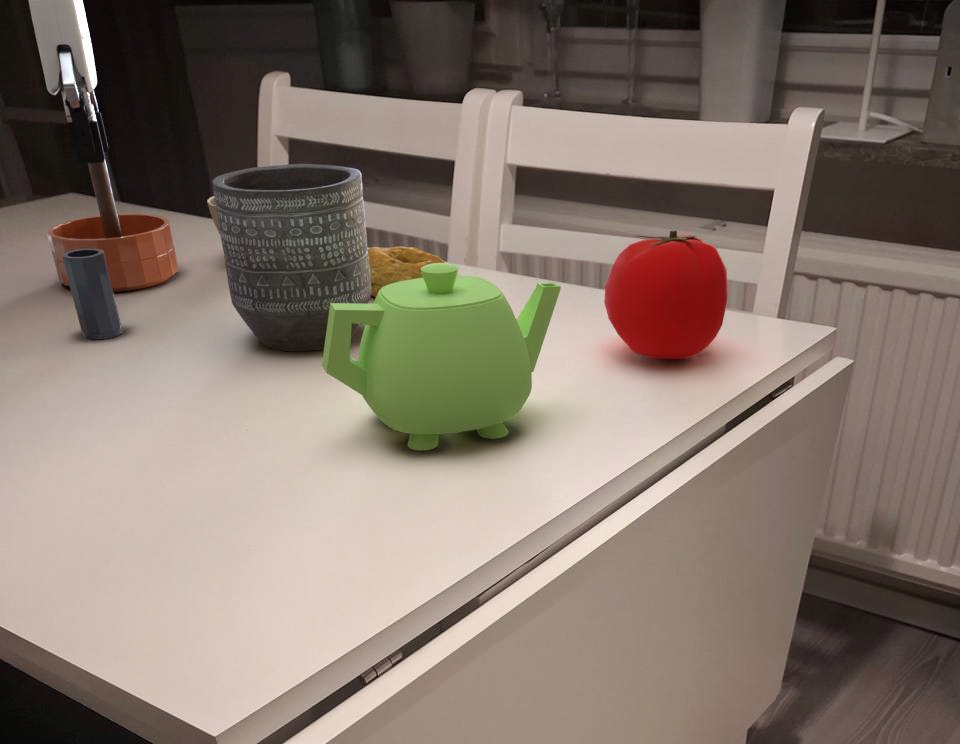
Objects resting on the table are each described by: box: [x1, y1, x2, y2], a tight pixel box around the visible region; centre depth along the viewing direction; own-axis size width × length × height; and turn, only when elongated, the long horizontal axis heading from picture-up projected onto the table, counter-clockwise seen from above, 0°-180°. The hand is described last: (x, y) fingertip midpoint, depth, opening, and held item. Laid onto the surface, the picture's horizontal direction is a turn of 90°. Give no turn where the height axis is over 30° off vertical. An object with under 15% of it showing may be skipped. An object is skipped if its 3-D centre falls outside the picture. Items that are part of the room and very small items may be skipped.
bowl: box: [46, 213, 179, 293], centre depth 123 cm, size 14×14×6 cm
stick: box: [85, 104, 122, 238], centre depth 119 cm, size 2×2×18 cm
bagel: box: [367, 245, 446, 298], centre depth 116 cm, size 10×11×5 cm
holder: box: [62, 249, 123, 341], centre depth 105 cm, size 4×4×8 cm
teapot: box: [321, 262, 562, 451], centre depth 81 cm, size 20×13×13 cm
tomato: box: [603, 230, 729, 360], centre depth 95 cm, size 12×12×11 cm
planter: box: [211, 163, 372, 353], centre depth 100 cm, size 14×14×15 cm
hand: (92, 156), depth 117 cm, fingers open, 7 cm apart
